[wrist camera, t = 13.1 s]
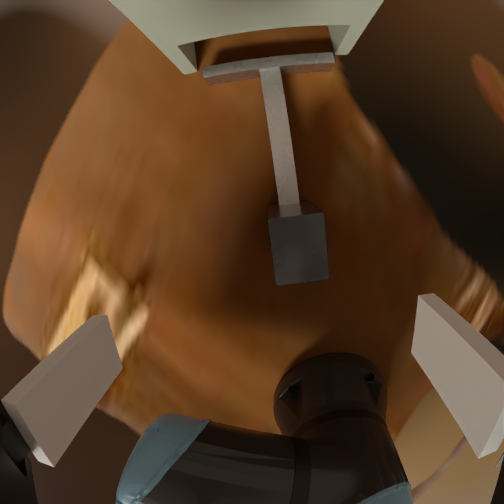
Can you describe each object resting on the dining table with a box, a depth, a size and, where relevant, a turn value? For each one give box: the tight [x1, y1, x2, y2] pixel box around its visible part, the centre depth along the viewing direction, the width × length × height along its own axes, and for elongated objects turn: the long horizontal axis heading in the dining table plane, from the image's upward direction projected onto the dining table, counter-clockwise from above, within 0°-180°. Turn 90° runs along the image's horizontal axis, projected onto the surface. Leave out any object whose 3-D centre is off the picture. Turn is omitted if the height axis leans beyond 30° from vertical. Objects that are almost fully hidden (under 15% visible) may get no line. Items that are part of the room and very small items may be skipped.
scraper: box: [202, 52, 335, 286], centre depth 26 cm, size 20×13×11 cm, turn 8°
